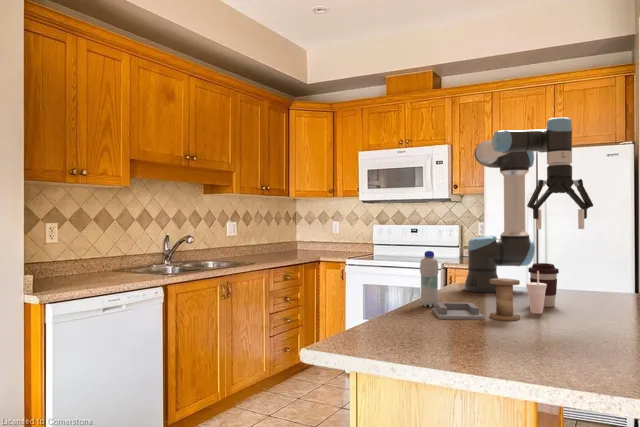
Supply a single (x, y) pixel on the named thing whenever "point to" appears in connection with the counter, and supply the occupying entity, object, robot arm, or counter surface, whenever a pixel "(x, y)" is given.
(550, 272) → the coffee cup
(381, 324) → the counter surface
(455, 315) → the notch board
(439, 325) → the counter surface
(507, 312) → the bobbin
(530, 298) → the smoothie
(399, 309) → the counter surface
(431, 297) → the bottle
